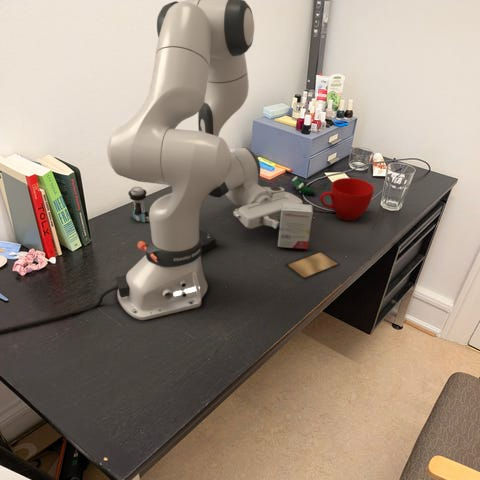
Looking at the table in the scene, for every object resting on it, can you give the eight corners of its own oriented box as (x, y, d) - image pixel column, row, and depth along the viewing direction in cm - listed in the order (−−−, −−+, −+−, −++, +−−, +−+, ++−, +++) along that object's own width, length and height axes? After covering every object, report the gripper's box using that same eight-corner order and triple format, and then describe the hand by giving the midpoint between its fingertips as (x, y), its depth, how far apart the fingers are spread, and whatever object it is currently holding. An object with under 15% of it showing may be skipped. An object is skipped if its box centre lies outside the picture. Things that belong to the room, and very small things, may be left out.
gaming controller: (298, 190, 163) (288, 180, 159) (305, 182, 161) (296, 172, 158) (308, 201, 156) (298, 191, 152) (316, 193, 155) (306, 183, 151)
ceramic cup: (309, 209, 147) (313, 180, 141) (355, 204, 151) (362, 176, 145) (325, 228, 138) (330, 198, 132) (374, 222, 142) (381, 193, 135)
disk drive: (216, 246, 129) (182, 227, 136) (216, 237, 127) (182, 219, 134) (190, 260, 123) (156, 239, 130) (190, 251, 121) (155, 231, 128)
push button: (156, 219, 139) (153, 189, 133) (144, 226, 136) (141, 196, 129) (140, 213, 142) (136, 184, 135) (128, 220, 138) (124, 190, 132)
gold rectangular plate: (304, 278, 118) (304, 277, 118) (287, 265, 122) (288, 264, 122) (337, 264, 123) (337, 263, 123) (320, 253, 127) (320, 252, 127)
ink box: (307, 241, 130) (313, 204, 123) (307, 249, 127) (313, 212, 119) (278, 238, 131) (282, 201, 123) (277, 247, 127) (281, 209, 119)
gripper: (230, 201, 127) (258, 221, 118) (285, 185, 136) (316, 203, 127) (229, 221, 131) (257, 242, 123) (283, 204, 140) (312, 223, 132)
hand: (287, 222), depth 125 cm, fingers closed on ink box, 5 cm apart
